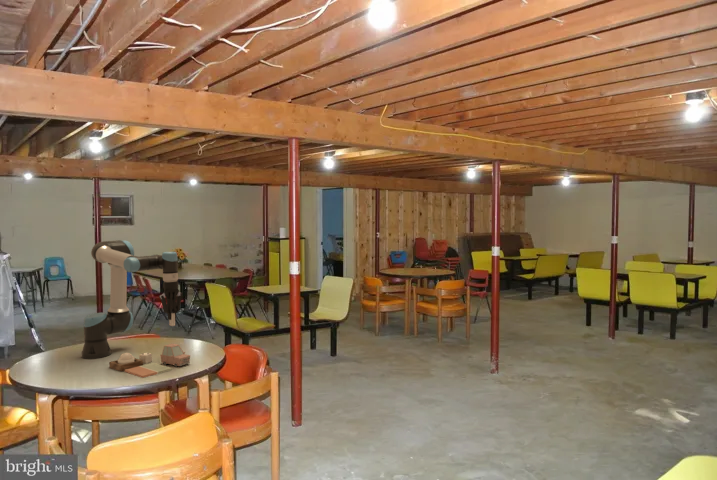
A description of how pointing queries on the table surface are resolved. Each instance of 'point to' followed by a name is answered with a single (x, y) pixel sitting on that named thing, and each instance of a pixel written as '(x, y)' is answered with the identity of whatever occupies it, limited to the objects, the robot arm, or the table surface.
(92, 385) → the table surface
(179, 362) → the toy car
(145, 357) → the die
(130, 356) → the dome
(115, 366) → the dome housing
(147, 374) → the board
